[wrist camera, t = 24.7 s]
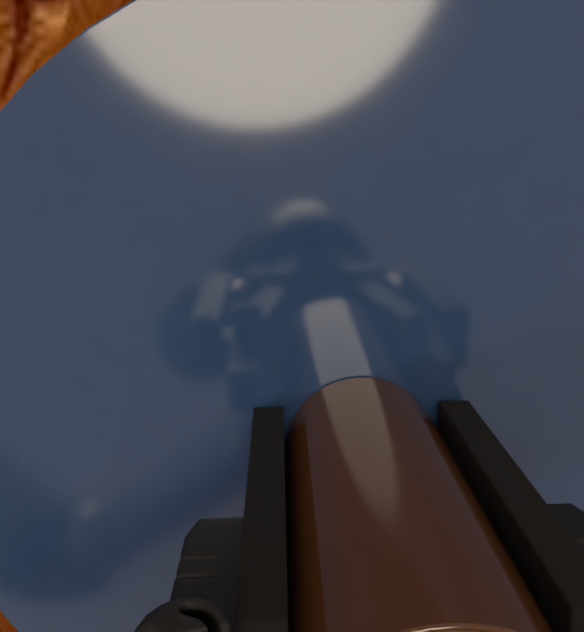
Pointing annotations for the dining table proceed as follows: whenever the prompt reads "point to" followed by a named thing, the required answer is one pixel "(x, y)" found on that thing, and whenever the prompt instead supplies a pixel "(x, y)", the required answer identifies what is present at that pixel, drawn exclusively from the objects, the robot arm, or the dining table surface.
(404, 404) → the lid
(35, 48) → the dining table surface
